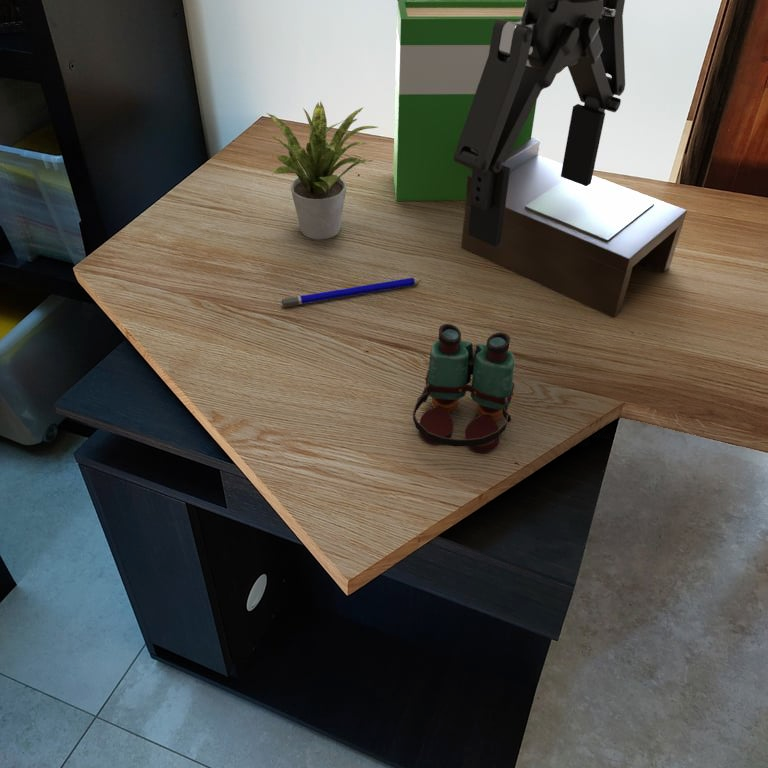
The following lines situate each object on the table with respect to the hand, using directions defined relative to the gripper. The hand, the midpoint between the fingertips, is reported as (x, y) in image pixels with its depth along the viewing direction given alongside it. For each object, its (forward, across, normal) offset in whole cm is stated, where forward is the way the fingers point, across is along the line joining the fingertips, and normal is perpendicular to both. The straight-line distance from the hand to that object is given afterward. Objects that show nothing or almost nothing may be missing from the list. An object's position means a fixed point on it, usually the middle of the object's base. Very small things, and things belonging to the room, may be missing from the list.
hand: (532, 208), depth 66 cm
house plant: (+21, -8, -34) cm, 41 cm away
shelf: (+21, -25, -9) cm, 33 cm away
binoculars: (+21, +8, +1) cm, 22 cm away
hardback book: (+21, -29, -30) cm, 47 cm away
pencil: (+21, 0, -22) cm, 31 cm away
